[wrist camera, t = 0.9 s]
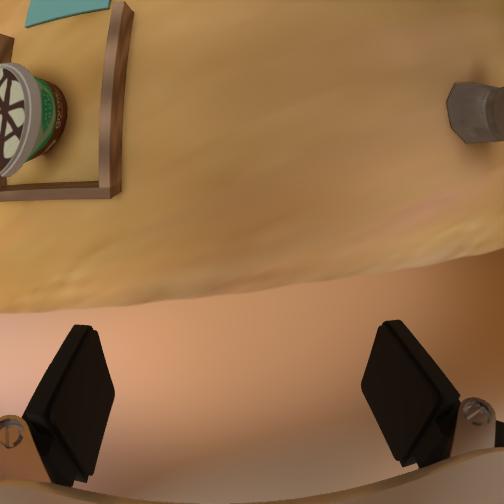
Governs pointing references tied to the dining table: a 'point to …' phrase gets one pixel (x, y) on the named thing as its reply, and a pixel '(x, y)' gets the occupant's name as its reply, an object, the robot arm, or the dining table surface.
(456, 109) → the coffeepot
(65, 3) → the mat
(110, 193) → the frame
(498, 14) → the dining table surface
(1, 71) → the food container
